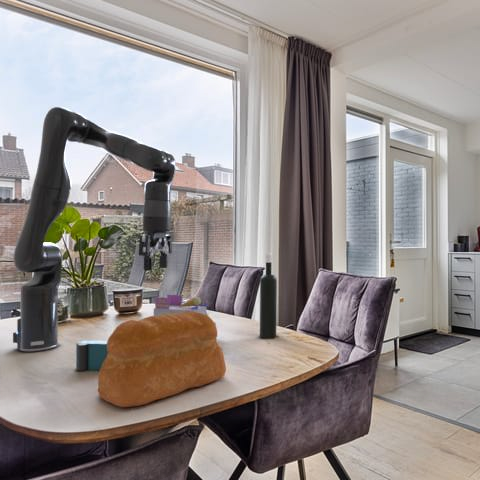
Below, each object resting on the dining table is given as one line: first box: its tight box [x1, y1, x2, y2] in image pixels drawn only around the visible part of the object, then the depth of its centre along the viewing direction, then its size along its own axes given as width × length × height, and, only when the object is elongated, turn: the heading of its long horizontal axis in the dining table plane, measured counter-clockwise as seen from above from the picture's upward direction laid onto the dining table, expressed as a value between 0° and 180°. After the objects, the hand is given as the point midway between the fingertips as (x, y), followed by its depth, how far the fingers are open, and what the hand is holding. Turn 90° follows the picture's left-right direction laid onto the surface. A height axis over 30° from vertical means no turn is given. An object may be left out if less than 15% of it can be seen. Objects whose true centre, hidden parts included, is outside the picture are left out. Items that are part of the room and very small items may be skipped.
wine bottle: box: [259, 252, 278, 340], centre depth 146 cm, size 6×6×30 cm
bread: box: [97, 311, 227, 408], centre depth 97 cm, size 16×26×17 cm, turn 145°
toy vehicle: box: [153, 294, 217, 326], centre depth 140 cm, size 9×20×15 cm, turn 78°
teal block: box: [75, 340, 108, 372], centre depth 110 cm, size 12×6×7 cm, turn 87°
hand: (155, 269), depth 124 cm, fingers open, 8 cm apart
